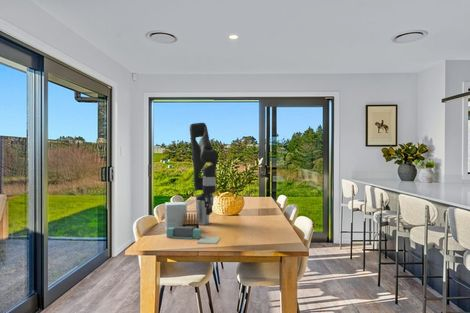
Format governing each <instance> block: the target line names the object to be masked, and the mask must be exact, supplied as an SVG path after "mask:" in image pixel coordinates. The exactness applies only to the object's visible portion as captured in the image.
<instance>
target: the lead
mask: <svg viewBox="0 0 470 313" xmlns="http://www.w3.org/2000/svg"><path fill="white" fill-rule="evenodd" d="M193 229H194V227H180V226H176V227H175V228H174V236H176V237H192V239H193Z"/></svg>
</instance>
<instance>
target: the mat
mask: <svg viewBox="0 0 470 313" xmlns="http://www.w3.org/2000/svg"><path fill="white" fill-rule="evenodd" d="M220 239H221V237H216V236H215V237H211V236H201V237H200V238H199V240H197V242H196V244H205V245H206V244H207V245H209V244H210V245H211V244H213V245H217V244H218V242H219V241H220Z"/></svg>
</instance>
